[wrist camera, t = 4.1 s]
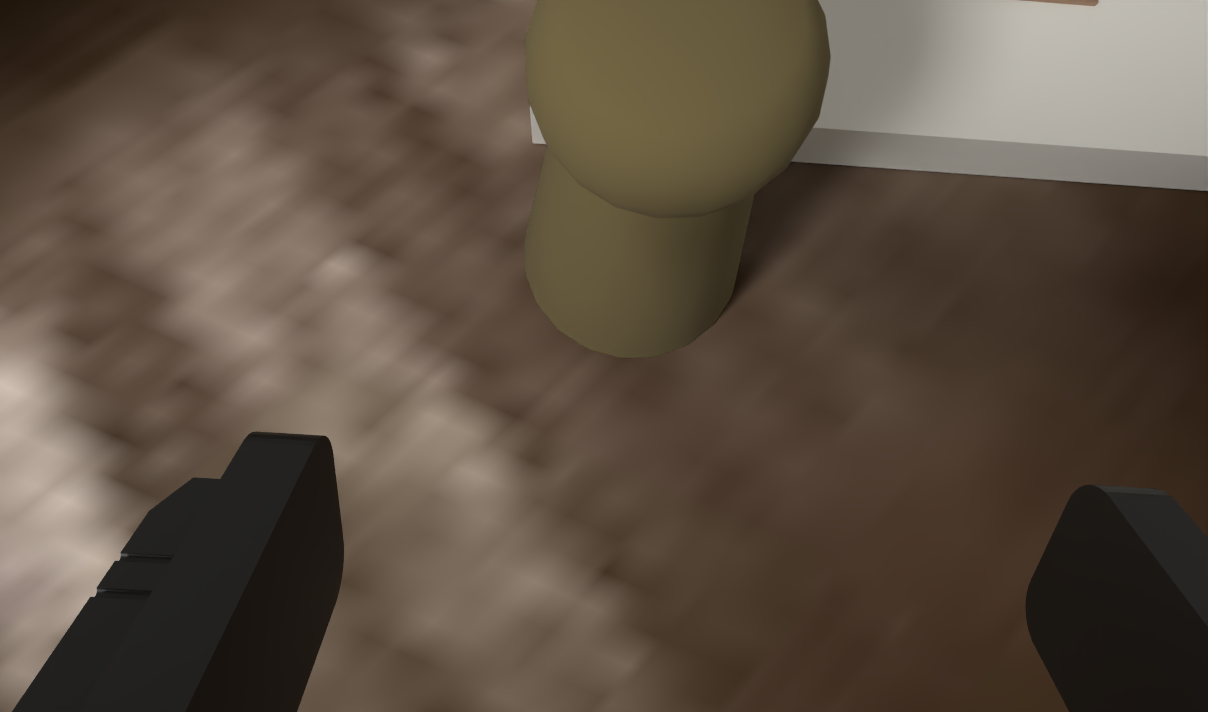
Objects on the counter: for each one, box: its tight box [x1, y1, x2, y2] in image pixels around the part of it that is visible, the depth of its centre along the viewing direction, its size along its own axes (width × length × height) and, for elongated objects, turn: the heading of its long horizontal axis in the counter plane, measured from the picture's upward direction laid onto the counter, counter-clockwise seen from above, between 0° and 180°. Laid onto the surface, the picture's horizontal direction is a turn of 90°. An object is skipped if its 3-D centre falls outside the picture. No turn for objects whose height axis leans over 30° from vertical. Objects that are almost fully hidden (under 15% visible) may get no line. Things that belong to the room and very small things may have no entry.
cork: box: [524, 0, 831, 358], centre depth 18 cm, size 6×6×11 cm
